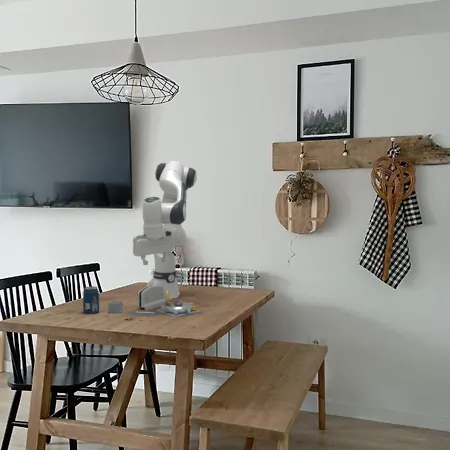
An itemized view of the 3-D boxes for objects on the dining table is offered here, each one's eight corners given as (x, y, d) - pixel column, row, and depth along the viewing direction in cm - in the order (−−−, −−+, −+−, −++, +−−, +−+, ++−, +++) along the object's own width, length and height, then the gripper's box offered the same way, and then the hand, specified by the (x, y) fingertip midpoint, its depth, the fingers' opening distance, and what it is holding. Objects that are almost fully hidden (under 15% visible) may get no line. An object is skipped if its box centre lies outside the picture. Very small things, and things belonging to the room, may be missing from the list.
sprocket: (157, 313, 230) (157, 295, 229) (164, 304, 246) (164, 287, 245) (193, 314, 229) (193, 295, 228) (197, 305, 245) (197, 287, 244)
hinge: (145, 310, 240) (143, 289, 240) (137, 310, 243) (135, 289, 242) (168, 303, 254) (166, 283, 254) (160, 303, 257) (158, 283, 256)
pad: (124, 320, 224) (124, 318, 224) (132, 312, 236) (132, 310, 236) (151, 321, 223) (151, 319, 223) (158, 313, 235) (158, 311, 235)
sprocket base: (155, 311, 238) (155, 309, 238) (182, 306, 248) (182, 304, 248) (174, 318, 227) (174, 316, 227) (201, 313, 236) (201, 310, 236)
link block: (119, 314, 234) (108, 314, 234) (122, 311, 239) (111, 311, 239) (119, 303, 233) (107, 303, 234) (122, 301, 238) (111, 300, 239)
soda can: (88, 311, 239) (87, 285, 238) (102, 312, 237) (101, 286, 236) (80, 315, 232) (79, 289, 231) (94, 316, 230) (93, 289, 229)
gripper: (136, 236, 225) (137, 267, 227) (175, 231, 237) (177, 261, 239) (129, 235, 230) (131, 265, 232) (168, 230, 242) (169, 259, 244)
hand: (154, 263), depth 235 cm, fingers open, 8 cm apart
